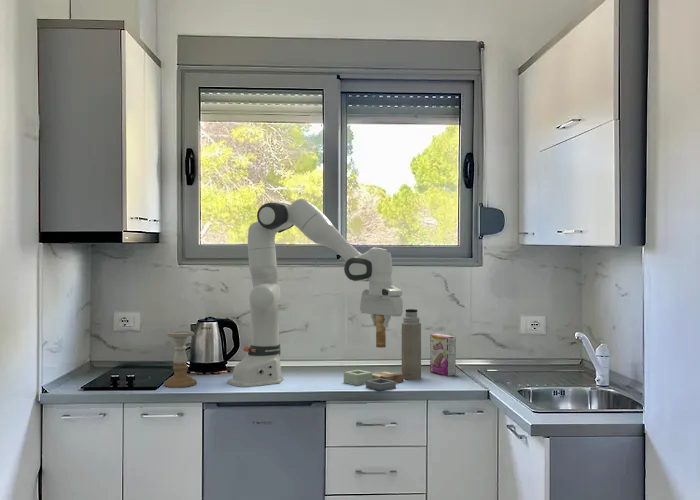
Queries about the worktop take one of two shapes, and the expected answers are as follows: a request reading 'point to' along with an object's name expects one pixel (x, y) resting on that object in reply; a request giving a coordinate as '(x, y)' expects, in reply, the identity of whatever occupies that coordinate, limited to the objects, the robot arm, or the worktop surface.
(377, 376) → the tan wooden block
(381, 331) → the dowel
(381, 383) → the tray
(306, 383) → the worktop surface
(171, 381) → the candle holder
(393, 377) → the bar
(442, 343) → the candy bar box
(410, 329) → the thermos bottle
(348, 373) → the socket block
